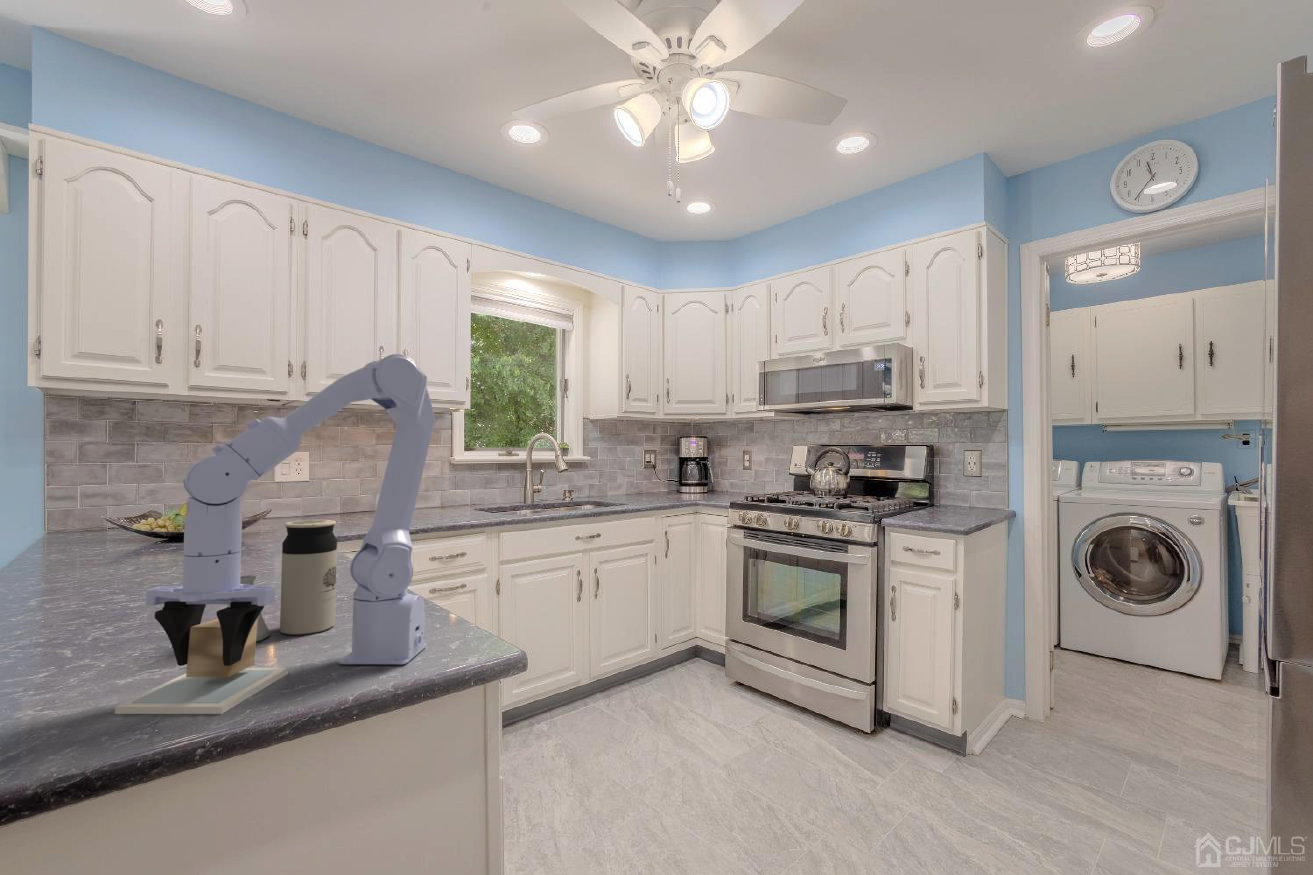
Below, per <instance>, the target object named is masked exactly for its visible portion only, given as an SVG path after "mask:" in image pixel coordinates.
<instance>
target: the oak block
mask: <svg viewBox="0 0 1313 875" xmlns="http://www.w3.org/2000/svg"><path fill="white" fill-rule="evenodd" d="M257 622H258V618H257V619H256V621H255V623H254V625H253V627H252V629H251V631H250V633H249V636H248V638H247V641H246V644H245V647H244V650H243V654H242V657H241V660H240V661H238V662H236V663H234V664H232V665H230V666H224V663H223V637H222V631H221V626H220V623H219V620H218V618H215V619H212V620H208V621H206V622H205V621H204V622H202V623H200V624H199V625H196V626H192V627H190V638H189V649H188V661H187V664H186V677H229V676H231V675H233V674H235V673H238V672H240V671H242V670H244V669H246V668H252V666H255V660H256V659H255V658H256V646H257V645H256V644H257V641H256V635H257Z"/></svg>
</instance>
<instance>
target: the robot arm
mask: <svg viewBox="0 0 1313 875" xmlns="http://www.w3.org/2000/svg"><path fill="white" fill-rule="evenodd" d="M427 386H428V376H427V375H426V373H424V371H423V370H422V369H421V368H420V366H419V365H418V364H417V363H416V362H415V360H414V359H413V358H410V357H409V356H407V355H405V354H402V353H401V354H400V353H394V354H393V353H392V354H389V355H387V356H385V357H383V358H382V359H379V360H375V361H370V362H369V363H366V364H365V365H364V366H363V367H361V368H358V369H356V370H354V371H351V372H349V373H347V374H344V375H342V376H341V377H339V378H337V379H336V380H334V381H333V382H332V383H330V384H329V385H328V386H327V387H325V388H323V389H322V390H321V391H319V392H318V393H317V394H315V395H314V396H312V397H311V398H309V399H308V400H307V401H306V402H304V403H303V404H301V405H300V406H299V407H297V408H296V409H294V410H293V411H292V412H290V413H288V414H287V415H286V416H284V417H275V416H265V417H263V418H262V419H261V420H259V419H258V418H254V419H252V420H251V421H249V422H247V423H246V427H247V429H245V431H243V432H241V433H239V434H238V435H237V436H235V437H234V438H233V439H231V440H229V441H228V442H226V443H225V444H223V445H221V444H216V445H215V446H213V447H211V449H210V450H211V451H212V452H213V453H214V454H215V455H211V456H207V457H204V458H201V459H200V460H197V461H195V462H194V463H193V464H192V465H191V466H190V467H189V468H188V469H187V471H186V473H185V477H184V478H183V481H182V482H183V486H184V489H185V491H186V492H187V494H189V496H188V498H187V501H186V504H185V511H186V512H187V515H186V516H185V517H184V527H183V529H184V531H183V532H184V533H183V534H184V535H183V562H182V564H183V565H182V585H166V586H163V585H162V586H161V585H160V586H155V587H152V588H148V589H146V594H145V596H146V597H145V605H146V606H157V605H163V607H162V609H160V610H157V611H155V612H154V619H155V620H156V621H157V622H158V623H159V625H160V626H161V627H162V629H163V631H164V632H165V634H166V635H167V638H168V640H169V642H170V644H171V648H172V650H173V653H174V656H175V660H176V663H177V666H179V667H181V666H182V667H183V666H185V665H187V661H188V649H189V638H190V627H192V626H196V625H199V624H202V623H201V622H202V618H203V614H204V612H205V608H206V605H228V604H230V607H227V606H226V607H225V608H221V609H220V610H216V617H217V619H218V620H219V623H220V626H221V631H222V637H223V663H224V666H230V665H232V664H234V663H236V662H238V661H240V660H241V657H242V654H243V650H244V647H245V644H246V641H247V638H248V636H249V633H250V631H251V629H252V627H253V625H254V623H255V621H256V619H257V617H258V616H259V614H260V613H261V614H262V611H263V609H264V608H265V606H268V605H272V604H273V603H275V602H276V586H264V585H254V584H253V585H247V584H240V577H241V576H242V575H241V573H242V572H241V570H242V540H243V539H242V538H243V536H242V535H243V534H242V533H243V532H242V531H243V515H242V513H241V505H242V504H241V502H242V499H241V498H242V495H243V494H244V493H245V492H246V490H247V487H248V484H249V481H252V480H253V481H257V480H258V479H260V478H261V477H263V476H264V475H266V474H267V473H268V472H270V471H271V470H272V469H274V468H275V467H277V466H278V465H280V464H281V463H283V461H285V460H286V459H288V458H289V457H290V456H292V455H293V454H295V453H296V452H298V451H299V449H300V445H301V439H302V436H303V435H304V434H306V433H307V432H309V431H310V430H312V429H313V428H315V427H317V426H319V424H321V423H322V422H324V421H325V420H327V419H328V418H330V417H332V416H333V415H334V414H336V413H338V412H339V411H341V410H342V409H343V408H345V407H347V406H348V405H350V404H351V403H355V402H362V401H367V400H371V401H373V402H374V403H376V404H377V405H379V406H381V407H382V408H383V409H384V410H385V411H386V413H388V415H389V416H390V418H391V419H392V420H393V422H394V423H395V425H396V428H395V431H394V436H393V440H392V443H391V447H390V451H389V457H388V460H387V463H386V468H385V472H384V476H383V481H382V484H381V487H380V488H381V489H380V493H379V497H378V501H377V504H376V509H375V512H374V517H373V521H372V525H371V527H370V528H369V530H368V531H367V532H366V533H365V536H364V537H363V541H362V545H361V547H360V548H359V550H358V551H357V552H356V553H355V555H354V556H353V558H352V559H351V561H350V566H349V572H350V576H351V578H352V580H353V581H354V582H355V583H356V584H357V585H356V589H355V590H354V592H353V594H352V596H353V597H352V631H351V632H352V635H351V636H352V638H351V652H349V653H348V654H346V655H345V656H344V657H342V658H340V659H339V660H338V665H406V664H407V663H409V662H410V661H411V660H412V659H414V657H416V656H417V655H418V654H419V653H420V652H421V651H423V650H424V649H425V648H426V647H427V643H426V638H425V637H426V634H425V633H426V604H425V599H424V597H423V596H421V595H418V594H412V593H408V587H409V586H410V585H411V582H412V581H413V577H414V567H413V563H412V552H413V544H412V540H411V539H412V538H411V535H410V529H411V525H412V522H413V521H412V520H413V516H414V512H415V507H416V503H417V500H418V494H419V490H420V485H421V484H422V483H421V481H422V479H423V478H422V477H423V474H424V468H425V465H426V460H427V456H428V453H429V449H430V448H429V447H430V445H431V440H432V436H433V431H434V428H435V423H436V414H435V412H434V408H433V404H432V401H431V397H430V395H429V391H428V387H427Z"/></svg>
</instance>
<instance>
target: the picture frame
mask: <svg viewBox="0 0 1313 875" xmlns="http://www.w3.org/2000/svg"><path fill="white" fill-rule="evenodd" d="M287 675H289V668H288V667H248V668H246V669H244V670H242V671H240V672H238V673H235V674H233V675H231V676H229V677H186V673H184V674H182V675H179V676H177V677H175V678H172V679H170V680H169V681H166V682H165V683H162V684H160V685H158V686H156V687H154V688H152V689H150V690H148V691H145V692H143V693H141V694H139V695H137V696H134V697H133V698H131V699H128V700H127V701H125V702H122V703H120V704H117V705H116V706H114V715H223V714H224V713H226V712H227V711H229V710H231V709H232V708H234V707H236V706H238V705H239V704H241V703H242V702H244V701H246V700H248V699H249V698H251V697H252V696H254V695H256V694H257V693H259V692H260V691H262V690H264V689H266V688H267V687H269V686H271V685H272V684H273V683H275V682H277V681H278V680H280V679H282V678H283V677H285V676H287Z"/></svg>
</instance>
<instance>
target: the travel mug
mask: <svg viewBox="0 0 1313 875" xmlns="http://www.w3.org/2000/svg"><path fill="white" fill-rule="evenodd" d="M336 523H337V522H336V520H334V519H305V520H302V519H301V520H294V521H288V522H285V523H284V527H286V534H287V535H286V537H285V539H284V540H283V542H282V544H281V545H282V547H281V575H280V576H281V579H280V581H281V582H280V614H279V615H280V616H279V618H280V620H279V631H280V633H282V634H285V635H289V636H303V635H304V636H305V635H313V634H317V633H322V632H324V631H327V630H329V629H330V628H332V627H333V626H335V624H336V602H337V601H336V599H337V597H336V596H337V595H336V590H337V589H336V588H337V562H338V561H337V560H338V556H337V555H338V550H337V549H338V539H337V538H336V536H335V533H334V532H333V531H334V527H335V525H336Z"/></svg>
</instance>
